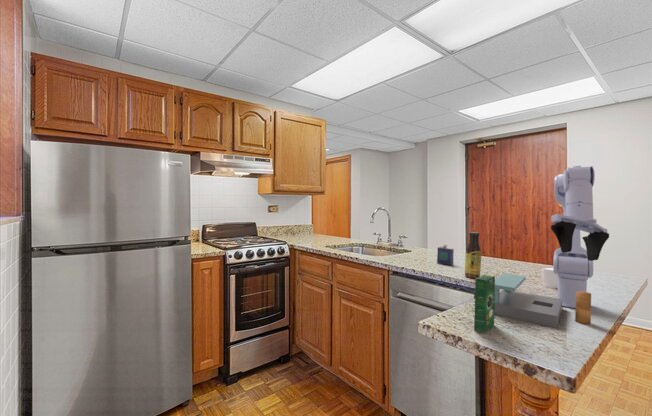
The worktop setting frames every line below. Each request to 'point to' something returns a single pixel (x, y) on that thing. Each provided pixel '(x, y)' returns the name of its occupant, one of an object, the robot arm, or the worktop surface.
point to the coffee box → (484, 303)
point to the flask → (445, 255)
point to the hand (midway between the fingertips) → (579, 255)
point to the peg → (583, 307)
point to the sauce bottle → (473, 257)
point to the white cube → (549, 278)
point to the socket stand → (524, 302)
